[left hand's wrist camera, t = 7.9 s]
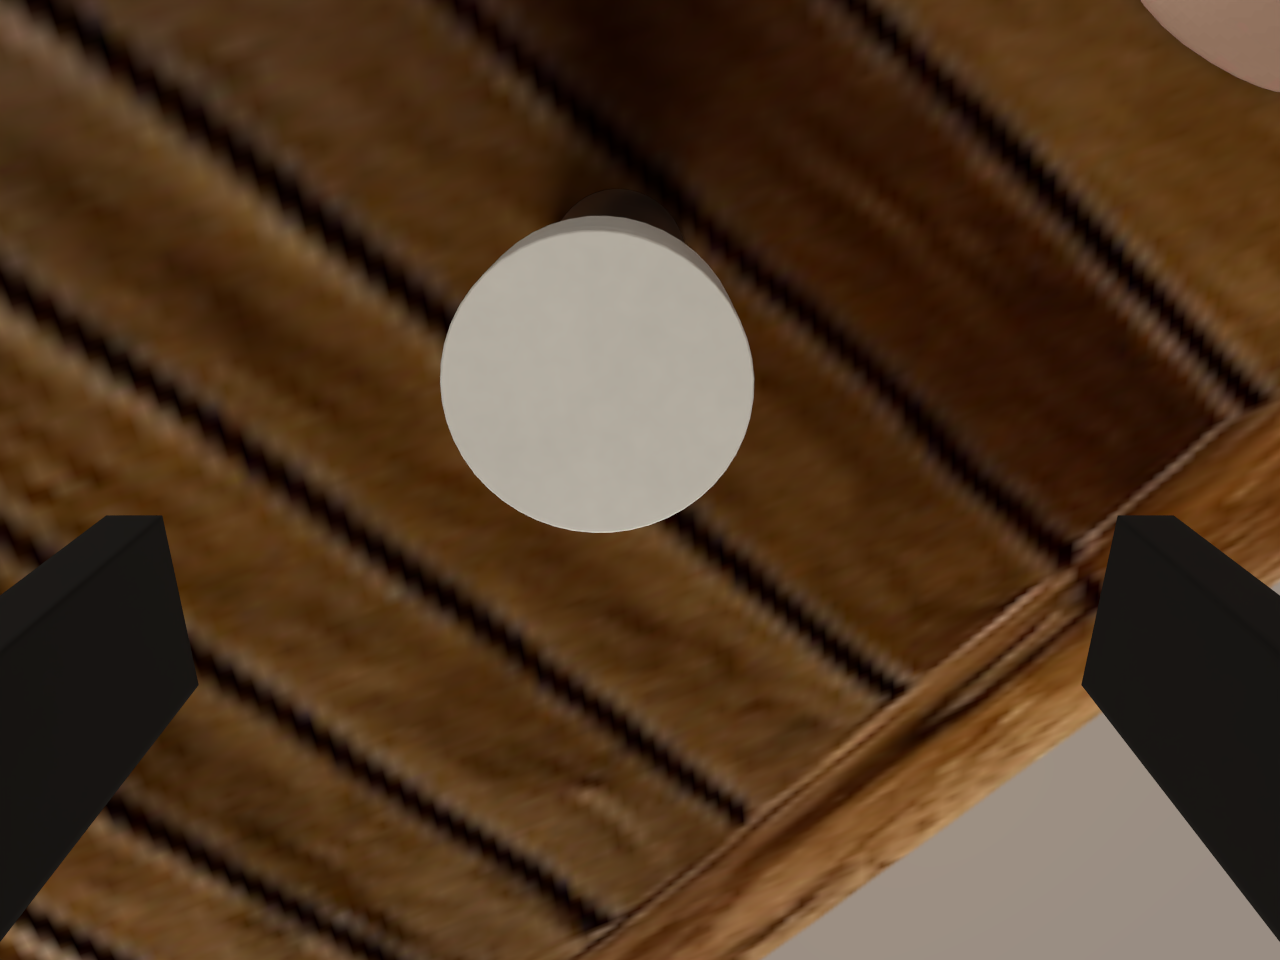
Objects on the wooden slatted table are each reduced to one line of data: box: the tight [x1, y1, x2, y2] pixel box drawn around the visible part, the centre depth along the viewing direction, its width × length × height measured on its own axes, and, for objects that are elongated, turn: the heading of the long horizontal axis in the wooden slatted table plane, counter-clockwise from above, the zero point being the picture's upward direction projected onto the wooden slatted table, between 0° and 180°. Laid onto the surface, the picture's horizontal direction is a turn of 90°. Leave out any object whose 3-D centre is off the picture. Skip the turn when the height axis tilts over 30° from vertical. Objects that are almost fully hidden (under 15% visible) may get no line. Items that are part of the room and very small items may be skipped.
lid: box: [440, 216, 754, 533], centre depth 17 cm, size 6×6×2 cm
